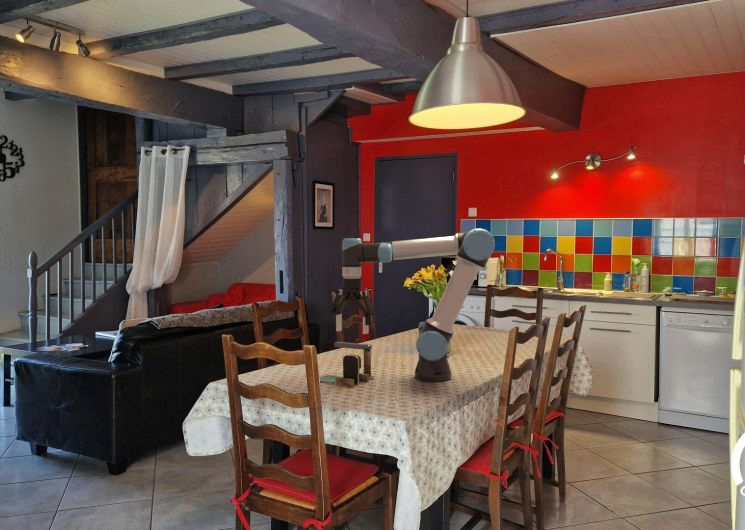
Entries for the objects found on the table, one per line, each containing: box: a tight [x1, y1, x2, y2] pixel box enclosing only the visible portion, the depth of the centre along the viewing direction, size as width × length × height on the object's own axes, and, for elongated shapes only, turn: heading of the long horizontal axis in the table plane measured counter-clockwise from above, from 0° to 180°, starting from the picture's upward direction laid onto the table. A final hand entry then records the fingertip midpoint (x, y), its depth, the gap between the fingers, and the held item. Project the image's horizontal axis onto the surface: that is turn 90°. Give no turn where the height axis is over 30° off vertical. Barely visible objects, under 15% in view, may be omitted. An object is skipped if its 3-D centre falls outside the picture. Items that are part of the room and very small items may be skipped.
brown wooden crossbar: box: [333, 341, 373, 351], centre depth 263 cm, size 4×17×2 cm, turn 61°
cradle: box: [335, 350, 375, 389], centre depth 255 cm, size 8×19×12 cm, turn 146°
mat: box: [319, 374, 343, 385], centre depth 258 cm, size 10×10×1 cm
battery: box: [342, 354, 362, 386], centre depth 252 cm, size 7×4×11 cm, turn 60°
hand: (352, 332), depth 251 cm, fingers open, 12 cm apart
